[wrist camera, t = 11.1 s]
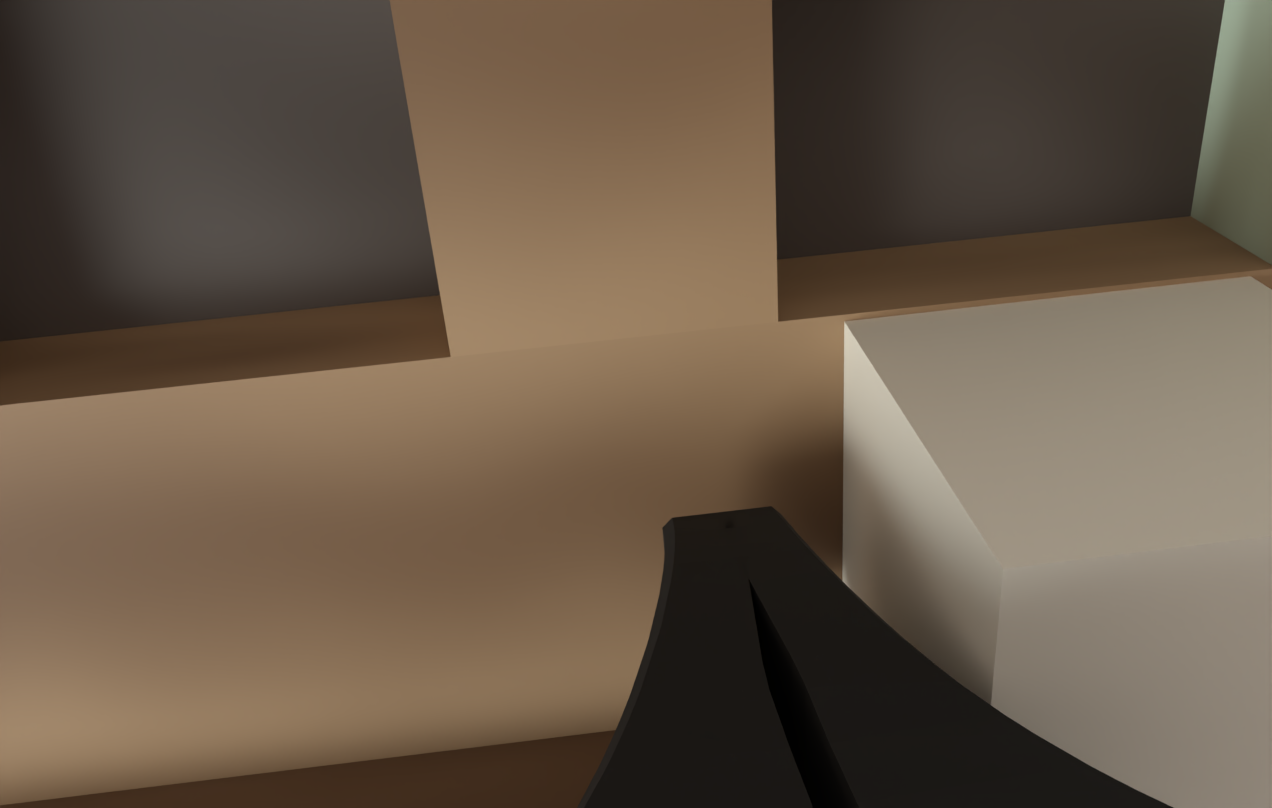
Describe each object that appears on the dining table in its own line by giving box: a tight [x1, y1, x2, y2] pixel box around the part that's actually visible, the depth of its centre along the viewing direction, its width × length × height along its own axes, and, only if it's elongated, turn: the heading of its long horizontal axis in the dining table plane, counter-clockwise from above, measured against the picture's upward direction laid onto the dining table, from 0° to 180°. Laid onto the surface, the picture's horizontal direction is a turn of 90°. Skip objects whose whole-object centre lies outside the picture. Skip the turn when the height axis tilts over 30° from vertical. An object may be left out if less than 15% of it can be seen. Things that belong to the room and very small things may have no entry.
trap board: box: [0, 0, 1272, 808], centre depth 12 cm, size 13×25×4 cm, turn 94°
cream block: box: [842, 276, 1272, 808], centre depth 11 cm, size 4×4×4 cm
